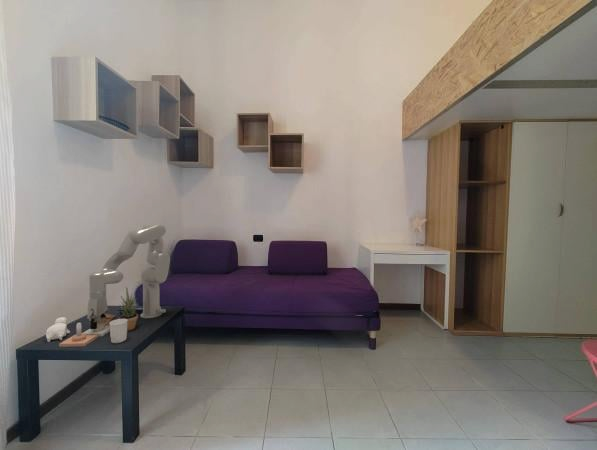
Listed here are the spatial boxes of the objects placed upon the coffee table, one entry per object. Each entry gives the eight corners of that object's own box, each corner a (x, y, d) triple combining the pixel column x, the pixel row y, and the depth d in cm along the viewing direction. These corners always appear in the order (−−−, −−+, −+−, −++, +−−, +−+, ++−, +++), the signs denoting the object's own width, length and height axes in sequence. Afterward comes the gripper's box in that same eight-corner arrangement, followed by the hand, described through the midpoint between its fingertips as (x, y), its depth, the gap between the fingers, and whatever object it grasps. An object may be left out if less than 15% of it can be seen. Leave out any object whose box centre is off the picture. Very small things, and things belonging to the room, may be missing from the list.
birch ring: (108, 322, 157) (108, 317, 157) (100, 327, 150) (100, 322, 150) (96, 322, 157) (95, 317, 156) (87, 327, 150) (87, 322, 150)
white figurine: (66, 344, 146) (72, 324, 158) (64, 331, 143) (71, 312, 155) (45, 347, 141) (53, 327, 154) (42, 334, 138) (51, 315, 151)
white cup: (108, 344, 138) (107, 325, 138) (111, 338, 146) (111, 319, 145) (126, 342, 142) (126, 323, 141) (128, 336, 149) (128, 317, 149)
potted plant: (123, 326, 162) (122, 284, 162) (140, 324, 164) (140, 284, 164) (115, 333, 153) (115, 289, 152) (134, 331, 155) (133, 288, 154)
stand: (114, 328, 159) (114, 314, 159) (102, 336, 148) (102, 321, 148) (94, 328, 159) (94, 314, 158) (81, 336, 148) (80, 322, 147)
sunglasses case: (109, 325, 162) (102, 316, 161) (97, 333, 160) (89, 324, 159) (116, 315, 179) (110, 307, 178) (106, 322, 177) (99, 314, 176)
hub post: (97, 337, 147) (97, 319, 146) (84, 346, 137) (84, 326, 136) (74, 338, 146) (73, 319, 146) (59, 346, 136) (58, 326, 136)
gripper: (101, 290, 161) (101, 320, 162) (79, 299, 144) (80, 332, 144) (114, 290, 162) (114, 320, 162) (94, 299, 144) (95, 332, 145)
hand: (98, 325), depth 153 cm, fingers closed on birch ring, 7 cm apart
